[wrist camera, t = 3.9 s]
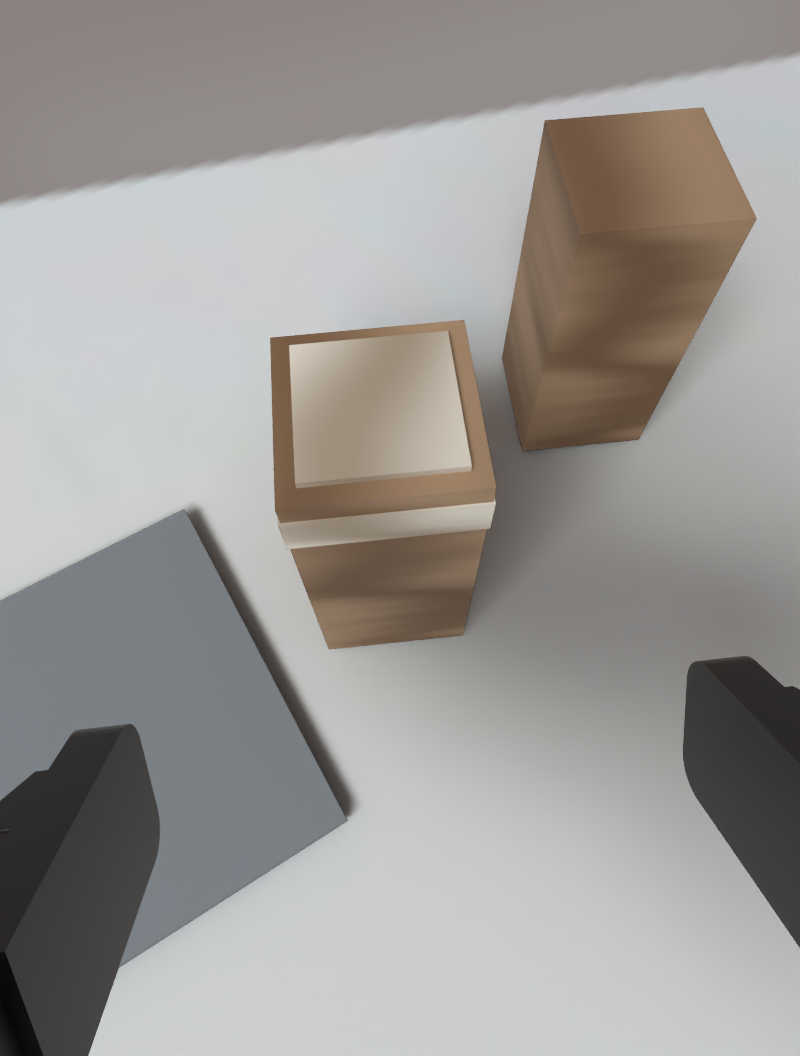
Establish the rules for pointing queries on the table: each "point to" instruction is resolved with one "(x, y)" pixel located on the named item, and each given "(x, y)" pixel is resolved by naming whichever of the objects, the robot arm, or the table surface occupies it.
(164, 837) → the slate mat
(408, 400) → the label box
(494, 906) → the table surface
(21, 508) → the table surface
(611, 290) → the plain box
